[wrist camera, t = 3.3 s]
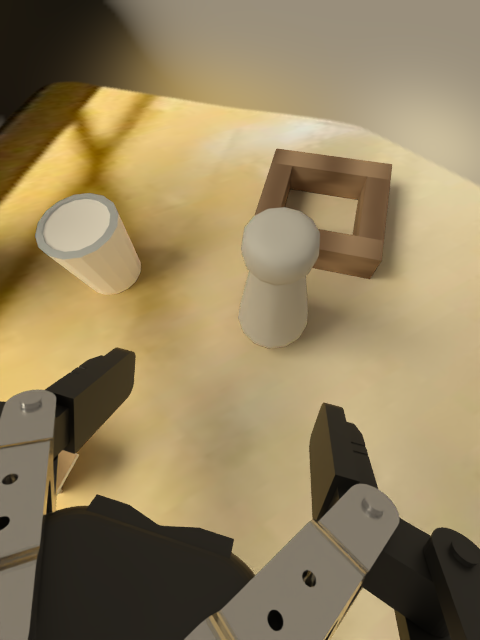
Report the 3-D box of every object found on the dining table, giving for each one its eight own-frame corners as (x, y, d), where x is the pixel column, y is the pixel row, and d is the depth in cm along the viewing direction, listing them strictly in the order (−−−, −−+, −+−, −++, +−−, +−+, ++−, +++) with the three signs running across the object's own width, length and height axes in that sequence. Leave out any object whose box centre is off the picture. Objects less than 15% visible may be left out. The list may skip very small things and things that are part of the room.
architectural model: (34, 420, 26) (-48, 410, 19) (102, 454, 24) (40, 456, 17) (8, 461, 24) (-89, 466, 17) (78, 499, 23) (2, 520, 16)
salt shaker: (281, 287, 29) (297, 172, 17) (316, 334, 27) (364, 242, 15) (228, 316, 28) (206, 217, 16) (261, 368, 26) (264, 297, 14)
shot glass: (78, 253, 32) (33, 204, 25) (141, 236, 32) (112, 183, 26) (84, 308, 29) (34, 269, 23) (152, 288, 30) (123, 244, 23)
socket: (248, 255, 30) (247, 235, 28) (274, 172, 35) (276, 148, 32) (369, 278, 29) (381, 260, 26) (380, 188, 33) (392, 164, 30)
